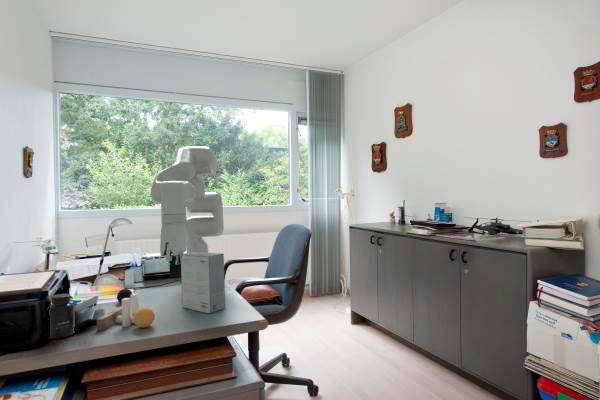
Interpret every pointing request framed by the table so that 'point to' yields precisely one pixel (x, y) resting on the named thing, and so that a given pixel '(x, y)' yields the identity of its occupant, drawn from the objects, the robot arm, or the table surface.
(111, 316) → the backstop wall
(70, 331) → the supplement bottle
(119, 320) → the front pin
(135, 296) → the back right pin
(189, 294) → the hard drive box
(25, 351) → the table surface
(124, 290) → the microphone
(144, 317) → the ball
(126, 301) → the back left pin
